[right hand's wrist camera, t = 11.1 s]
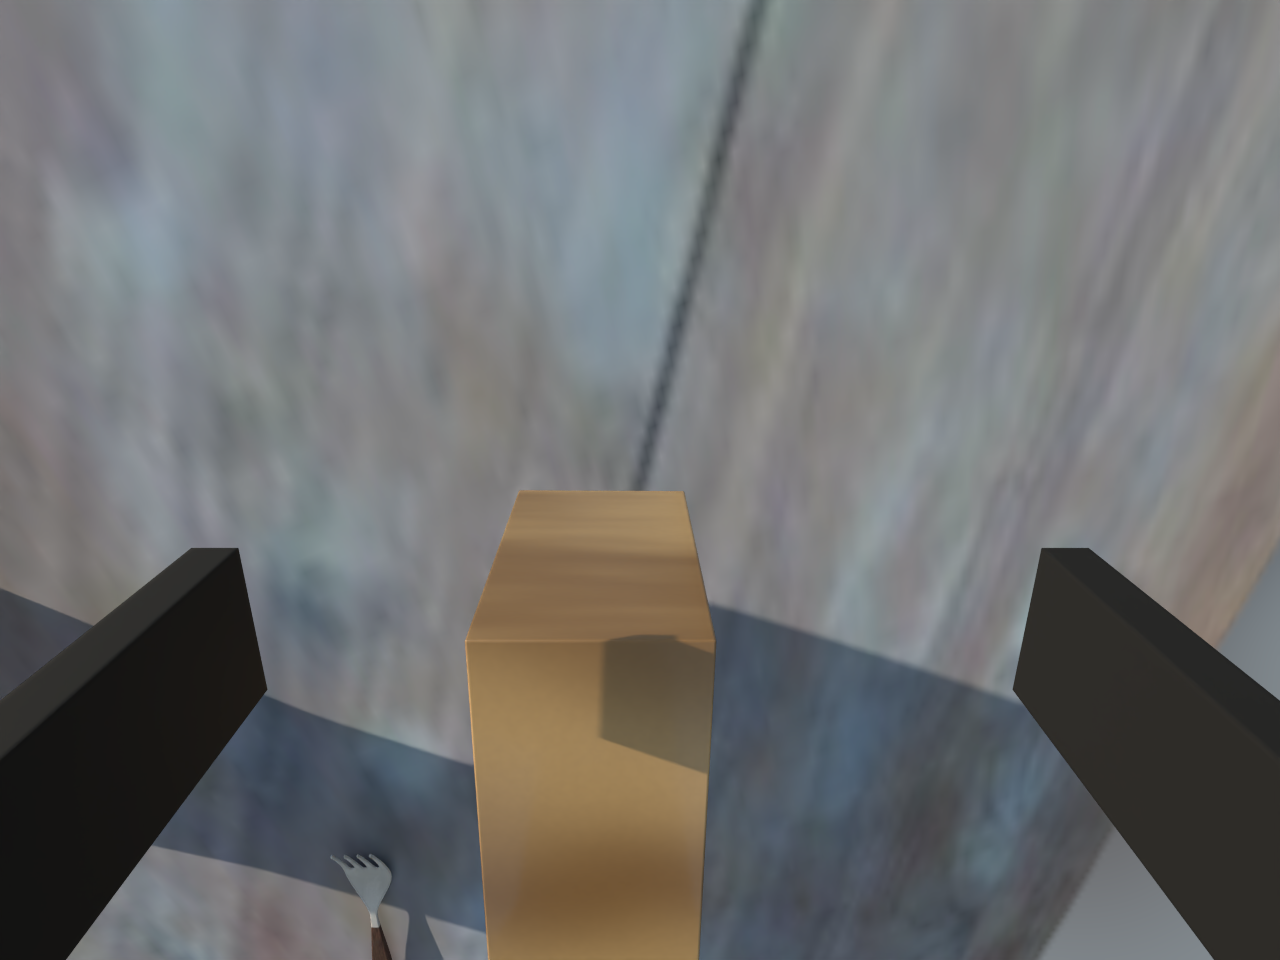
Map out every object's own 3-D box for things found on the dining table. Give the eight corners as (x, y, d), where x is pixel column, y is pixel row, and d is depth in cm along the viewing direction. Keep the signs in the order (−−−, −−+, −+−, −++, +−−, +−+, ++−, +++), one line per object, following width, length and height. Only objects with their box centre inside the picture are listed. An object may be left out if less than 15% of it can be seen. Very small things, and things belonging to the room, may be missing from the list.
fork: (377, 1026, 49) (367, 1058, 47) (338, 829, 44) (326, 856, 42) (417, 1024, 49) (409, 1057, 47) (384, 827, 44) (373, 855, 42)
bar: (518, 489, 23) (464, 640, 15) (684, 490, 23) (716, 640, 15) (541, 1022, 31) (513, 1307, 23) (665, 1021, 31) (680, 1304, 23)
